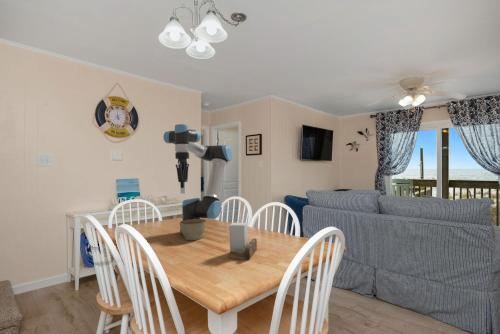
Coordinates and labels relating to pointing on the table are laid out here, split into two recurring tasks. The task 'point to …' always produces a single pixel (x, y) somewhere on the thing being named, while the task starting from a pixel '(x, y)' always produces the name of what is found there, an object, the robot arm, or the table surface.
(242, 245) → the skincare box
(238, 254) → the bay
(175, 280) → the table surface
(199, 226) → the planter bowl
